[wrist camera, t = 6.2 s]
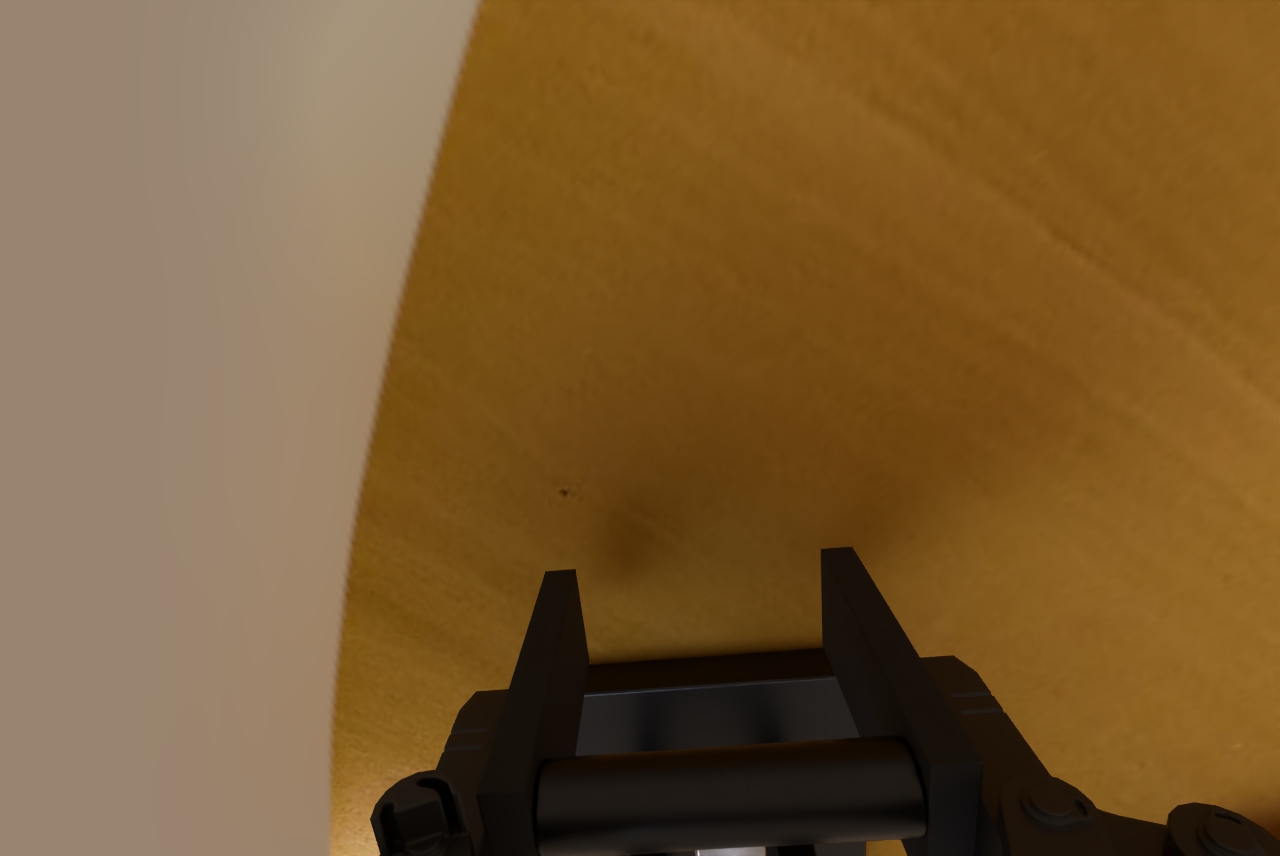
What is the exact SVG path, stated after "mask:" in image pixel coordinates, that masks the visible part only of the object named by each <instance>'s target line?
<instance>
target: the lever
mask: <svg viewBox="0 0 1280 856" xmlns="http://www.w3.org/2000/svg"><path fill="white" fill-rule="evenodd" d="M533 826H534V837H535V843H536V847H537V851H538V854H539V856H619V855H637V854H654V853H671V852H688V851H695V856H766V847H775V846H792V845H809V844H827V843H844V842H861V841H878V840H896V839H913V838H921V837H923V836H924V835H926V833H927V830H928V803H927V796H926V791H925V786H924V782H923V778H922V775H921V772H920V768H919V766H918V763H917V760H916V758H915V756H914V753H913V751H912V749H911V748H910V746H909V744H908V743H907V741H906V740H905V739H904V738H903V737H901V736H898V735H889V736H873V737H858V738H843V739H828V740H813V741H798V742H782V743H767V744H752V745H737V746H722V747H707V748H691V749H676V750H661V751H646V752H631V753H616V754H600V755H585V756H570V757H555V758H546V759H545V760H543V761H542V762H541V764H540V766H539V770H538V773H537V777H536V782H535V790H534V802H533Z"/></svg>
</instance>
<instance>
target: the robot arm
mask: <svg viewBox="0 0 1280 856" xmlns="http://www.w3.org/2000/svg"><path fill="white" fill-rule="evenodd" d="M821 586H822V635H823V646H824V648H825V651H826V653H827V656H828V658H829V661H830V663H831V666H832V668H833V671H834V673H835V676H836V678H837V681H838V683H839V686H840V688H841V691H842V693H843V696H844V698H845V701H846V703H847V706H848V708H849V711H850V713H851V716H852V718H853V721H854V723H855V726H856V728H857V731H858V733H859V736H860V737H873V736H889V735H898V736H901V737H903V738H904V739H905V740H906V741H907V743H908V744H909V746H910V748H911V749H912V751H913V753H914V756H915V758H916V760H917V763H918V766H919V768H920V772H921V775H922V778H923V782H924V786H925V791H926V796H927V803H928V830H927V833H926V835H924V836H923V837H921V838H913V839H901V841H902V843H903V846H904V848H905V851H906V853H907V856H1280V842H1279V841H1278V840H1277V839H1276V838H1275V837H1274V836H1272V835H1271V834H1270V833H1269V832H1268V831H1267V830H1265V829H1264V828H1263V827H1261V826H1260V825H1258V824H1256V823H1254V822H1253V821H1251V820H1249V819H1247V818H1246V817H1244V816H1242V815H1240V814H1238V813H1235V812H1232V811H1230V810H1227V809H1224V808H1221V807H1219V806H1216V805H1209V804H1201V803H1189V804H1183V805H1178V806H1177V807H1176V808H1174V809H1173V810H1172V811H1171V812H1170V813H1169V814H1168V819H1167V824H1166V825H1163V824H1158V823H1153V822H1148V821H1143V820H1138V819H1133V818H1128V817H1123V816H1119V815H1115V814H1112V813H1108V812H1104V811H1102V810H1099V809H1097V808H1096V807H1095V805H1094V804H1093V802H1092V801H1091V800H1089V799H1088V798H1087V797H1086V796H1085V795H1084V794H1083V793H1082V792H1080V791H1079V790H1078V789H1077V788H1075V787H1073V786H1071V785H1070V784H1068V783H1066V782H1064V781H1062V780H1060V779H1059V778H1055V777H1052V776H1051V775H1050V774H1049V773H1048V771H1047V770H1046V768H1045V767H1044V766H1043V764H1042V763H1041V761H1040V760H1039V759H1038V757H1037V756H1036V754H1035V753H1034V752H1033V750H1032V749H1031V748H1030V746H1029V745H1028V743H1027V742H1026V741H1025V739H1024V738H1023V736H1022V735H1021V734H1020V732H1019V731H1018V729H1017V728H1016V727H1015V725H1014V724H1013V722H1012V721H1011V720H1010V718H1009V717H1008V715H1007V714H1006V713H1004V712H1003V709H1002V707H1001V706H1000V704H999V703H998V701H997V700H996V699H995V697H994V696H992V695H991V692H990V690H989V689H988V688H987V686H986V685H985V683H984V682H983V681H982V679H981V678H980V676H979V675H978V674H977V672H976V671H974V670H973V669H972V668H970V667H969V666H967V665H966V664H965V663H963V662H962V661H960V660H959V659H958V658H956V657H955V656H939V657H925V658H920V657H919V655H918V654H917V652H916V650H915V649H914V647H913V646H912V644H911V642H910V641H909V639H908V637H907V636H906V634H905V632H904V631H903V629H902V628H901V626H900V624H899V623H898V621H897V619H896V618H895V616H894V614H893V613H892V611H891V610H890V608H889V606H888V605H887V603H886V601H885V600H884V598H883V596H882V595H881V593H880V592H879V590H878V588H877V587H876V585H875V583H874V582H873V580H872V578H871V577H870V575H869V574H868V572H867V570H866V569H865V567H864V565H863V564H862V562H861V560H860V559H859V557H858V555H857V554H856V552H855V551H854V549H853V547H841V548H829V549H821ZM588 667H589V655H588V649H587V642H586V635H585V629H584V622H583V615H582V609H581V602H580V596H579V589H578V582H577V576H576V569H571V570H559V571H546V572H545V575H544V578H543V581H542V584H541V588H540V591H539V594H538V597H537V600H536V604H535V607H534V610H533V613H532V616H531V620H530V623H529V626H528V629H527V633H526V636H525V639H524V642H523V645H522V649H521V652H520V655H519V658H518V661H517V665H516V668H515V671H514V674H513V677H512V681H511V684H510V687H509V689H505V690H491V691H477V692H476V693H475V694H474V695H473V696H472V697H471V698H470V699H469V700H468V701H467V703H466V704H465V705H464V706H463V707H462V708H461V709H460V710H459V713H458V715H457V718H456V720H455V723H454V725H453V728H452V730H451V735H449V738H448V740H447V743H446V745H445V748H444V749H445V750H444V752H443V753H442V755H441V758H440V760H439V763H438V765H437V768H436V770H430V771H424V772H417V773H415V774H413V775H411V776H408V777H406V778H404V779H402V780H400V781H399V782H397V783H396V784H395V785H393V786H392V787H391V788H389V789H388V790H387V791H386V792H385V793H384V794H383V796H382V797H381V798H380V800H379V801H378V802H377V803H376V805H375V807H374V810H373V813H372V816H371V818H370V821H371V824H372V827H373V831H374V834H375V837H376V841H377V844H378V847H379V851H380V854H381V855H380V856H539V854H538V851H537V847H536V843H535V837H534V826H533V802H534V790H535V782H536V777H537V773H538V770H539V766H540V764H541V762H542V761H543V760H545V759H546V758H555V757H570V756H575V755H576V748H577V741H578V734H579V728H580V721H581V714H582V707H583V700H584V694H585V687H586V680H587V673H588Z"/></svg>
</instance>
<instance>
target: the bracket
mask: <svg viewBox="0 0 1280 856" xmlns="http://www.w3.org/2000/svg"><path fill="white" fill-rule="evenodd" d="M858 737H860V736H859V733H858V731H857V728H856V726H855V723H854V721H853V718H852V716H851V713H850V711H849V708H848V706H847V703H846V701H845V698H844V696H843V693H842V691H841V688H840V686H839V683H838V681H837V678H836V676H835V673H834V671H833V668H832V666H831V663H830V661H829V658H828V656H827V653H826V651H825V648H822V649H809V650H795V651H781V652H768V653H754V654H740V655H727V656H713V657H699V658H685V659H672V660H658V661H644V662H631V663H617V664H603V665H589V667H588V673H587V680H586V687H585V694H584V700H583V707H582V714H581V721H580V728H579V734H578V741H577V748H576V755H575V756H585V755H600V754H616V753H631V752H646V751H661V750H676V749H691V748H707V747H722V746H737V745H752V744H767V743H782V742H798V741H813V740H828V739H843V738H858ZM619 856H695V851H688V852H671V853H654V854H637V855H619ZM766 856H866V841H861V842H844V843H827V844H809V845H792V846H775V847H766Z"/></svg>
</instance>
